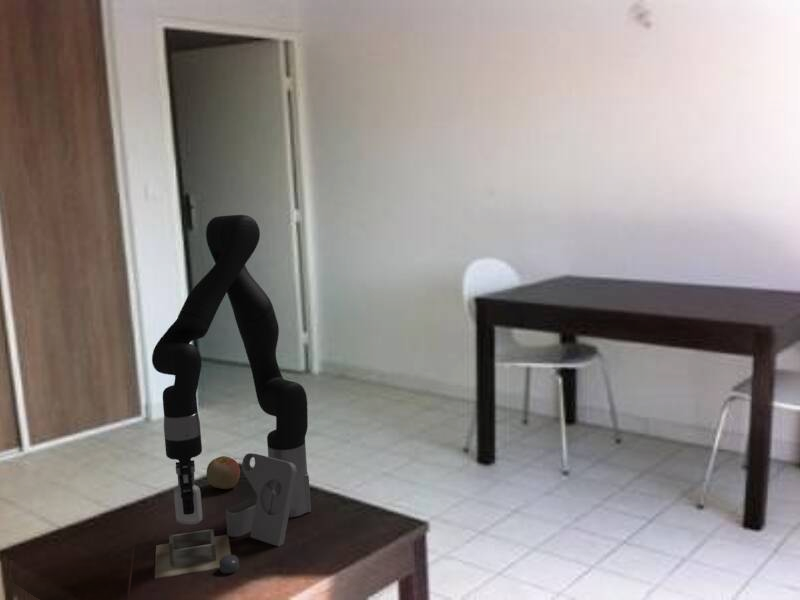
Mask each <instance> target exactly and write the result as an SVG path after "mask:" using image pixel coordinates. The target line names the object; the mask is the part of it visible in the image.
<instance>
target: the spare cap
mask: <svg viewBox="0 0 800 600" xmlns="http://www.w3.org/2000/svg"><path fill="white" fill-rule="evenodd" d="M239 570H240V559H239V558H238V556H236V554H235V555H234V554H231V555H226V556H224V557H222V558H221V560H220V569H219V571H220V572H221V573H222V574H225V575H228V574H234V573H236V572H238V571H239Z"/></svg>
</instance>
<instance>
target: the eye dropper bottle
mask: <svg viewBox="0 0 800 600" xmlns="http://www.w3.org/2000/svg"><path fill="white" fill-rule="evenodd" d="M183 491H184V492H191V490H190V489H187V490H183ZM193 493H194V495H193V504H194V513H193V514H188V515H185V514H184V512H183V500H182V498H181V488H180V487H179V486H178V485H177V486H176V487H174V489H173V496H174V512H175V521H176V522H177V523H178V524H181V525H182V524H183V525H196V524H199V523H200V522H201V521H202V520H203V509H202V495H201V489H200V487H199V486H198V485H197V484H195V485H194V486H193Z"/></svg>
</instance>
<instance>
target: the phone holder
mask: <svg viewBox="0 0 800 600" xmlns="http://www.w3.org/2000/svg"><path fill="white" fill-rule="evenodd" d="M252 459H254V464H253V468H252V466H251V460H252ZM241 470H242V472H243V474H244V476H245V477H246V479H247V481H248V482H249V485H251V487H252V489H253V490H254V491H255V493H256V496H257V497H256V498H249V499H245V500H244V501H241V502H240V503H237V504H234V505H233V506H230V507H228V508H227V509H226V510H225V519H226V520H225V521H226V533H227V534H226V535H228V537H233V538H236V537H237V538H238V537H241V536H244V535H246V534H249V533H250V535H249V536H250V537H249V538H252V539H255V540H258V541H261V542H263V543H265V544H270V545H274V546H277V547H280V546H283V545H284V543H285V539H286V534H287V529H288V528H287V527H288V522H289V518H290V517H289V512H290V507H291V501H292V496H293V490H294V485H295V479H296V474H297V469H296V466H295V465H294V464H293V463H291V462H287V461H283V460H279V459H275V458H271V457H268V455H267V456H266V455H262V454H257V453H252V452H251V453H246V454H245V455H244V457H243V458H242V463H241ZM277 482H279V483H280V484H281V487H282V490H281V493H280V494H279V495H276V494H275V492H274V486H275V484H276V483H277Z"/></svg>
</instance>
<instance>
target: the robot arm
mask: <svg viewBox="0 0 800 600" xmlns="http://www.w3.org/2000/svg"><path fill="white" fill-rule="evenodd" d="M260 233H261V232H260V227H259V225H258V223H257V221H256V219H254V218H253V217H252V216H249V215H245V214H233V215H220V216H219V215H218V216H215V217H212V218H211V219H210V220H209V222H208V223H207V225H206V228H205V237H206V238H205V240H206V243H207V246H208V249H209V252H210V254H211V256H212V258H213V261H214V263H215V264H214V265H213V266H212V268H211V269H210V270H209V271H208V272H207V273H206V274H205V275H204V276H203V277H202V278H201V279H200V281H199V282H197V284H196V285H195V286H193V288H192V290H191V291H190V292H189V294H188V295H187V296H186V299H185V301H184V303H183V305H182V307H181V309H180V311H179V313H178V315H177V318H176V320H175V321H174V322H173V323H172V324H171V325H170V326H169V327H168V329H167V330H166V331H165V333H164V334H163V335H162V336H161V337H160V339H158V341H157V343H156V344H155V346H154V349H153V352H152V354H151V362H152V366H153V368H154V370H155V371H157V372H158V373H160V374H162V375H163V374H164V375H170V376H174V383H173V384H172V385H169V386H167V387H166V388H164V390H163V391H162V409H163V433H164V446H165V456H166V458H167V459H170V460H177V461H176V462H175V473H176V475H177V486H179V487H180V488H181V498H182V500H183V512H184V514H185V515H188V514H193V513H194V504H193V495H194V493H193V486H194V485H196V481H195V471H196V468H195V467H196V465H195V460H193V459H192V458H196V457H198V456H199V455H201V454H202V452H203V446H202V433H201V422H200V421H201V420H200V417H199V411H198V409H199V408H198V400H197V391H198V387H199V381H200V375H201V372H202V371H201V370H202V364H203V363H202V356H201V353H200V351H199V349H198V348H197V346H195V345H193V344H191V343H192V342H193V341H195V340H199V339H203V338H204V337H205V336H206V335H207V333H208V330H210V327H211V325H212V323H213V321H214V318H215V316H216V314H217V312H218V310H219V307H220V305H221V303H222V302H223V300H224V298H225V297H226V294H227V296H228V299H229V303H230V305H231V308H232V311H233V315H234V319H235V322H236V326H237V328H238V333H239V335H240V337H241V340H242V343H243V346H244V347H243V348H244V349H245V350H244V351H245V353H246V356H247V360H248V362H249V366H250V369H251V370H250V371H251V374H252V379H253V383H254V389H255V393H256V399H257V403H258V404H259V407H260V408H261V410H262V411H263V412H264V413H265V414H268V415H269V416H271V417H272V416H273V417H275V425H276V426H275V428H276V429H273V430H272V431H270V432H269V433H268V434H267V436H266V442H267V444H266V445H267V457H271V458H275V459H279V460H283V461H287V462H291V463H293V464H294V465H295V466H296V469H297V474H296V479H295V485H294V490H293V496H292V501H291V507H290V512H289V518H294V517H295V518H296V517H300V516H303V515H305V514H308V513H312V506H311V489H310V476H309V474H308V464H307V452H306V451H307V450H306V447H307V446H306V435H307V431H308V416H309V415H308V397H307V392H306V390H305V387H303V385H302V384H300V383H299V382H296V381H291V380H287V379H284V378H283V375H282V372H281V370H280V367H279V366H280V365H279V363H278V360H277V347H278V342H279V335H280V328H279V323H278V319H277V316H276V311H275V309H274V305H273V303H272V301H271V299H270V298H269V296H268V294H267V293H266V292H265V291H264V289H263V288H262V287H261V286H260V285H259V283H258V282H257V281H256V280H255V279H254V277H253V276H252V274H251V273H250V272H249V271H248V269H247V266H246V264H247V262H248V261H249V260H250V258H251V256H252V255H253V253H254V251H255V250H256V249H257V246H258V244H259V242H260V237H261V234H260ZM187 489H190V490H191V492H184V491H183V490H187ZM281 490H282V487H281V484H280V483H279V482H277V483H276V484H275V486H274V492H275V494H276V495H279V494H280V493H281Z"/></svg>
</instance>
